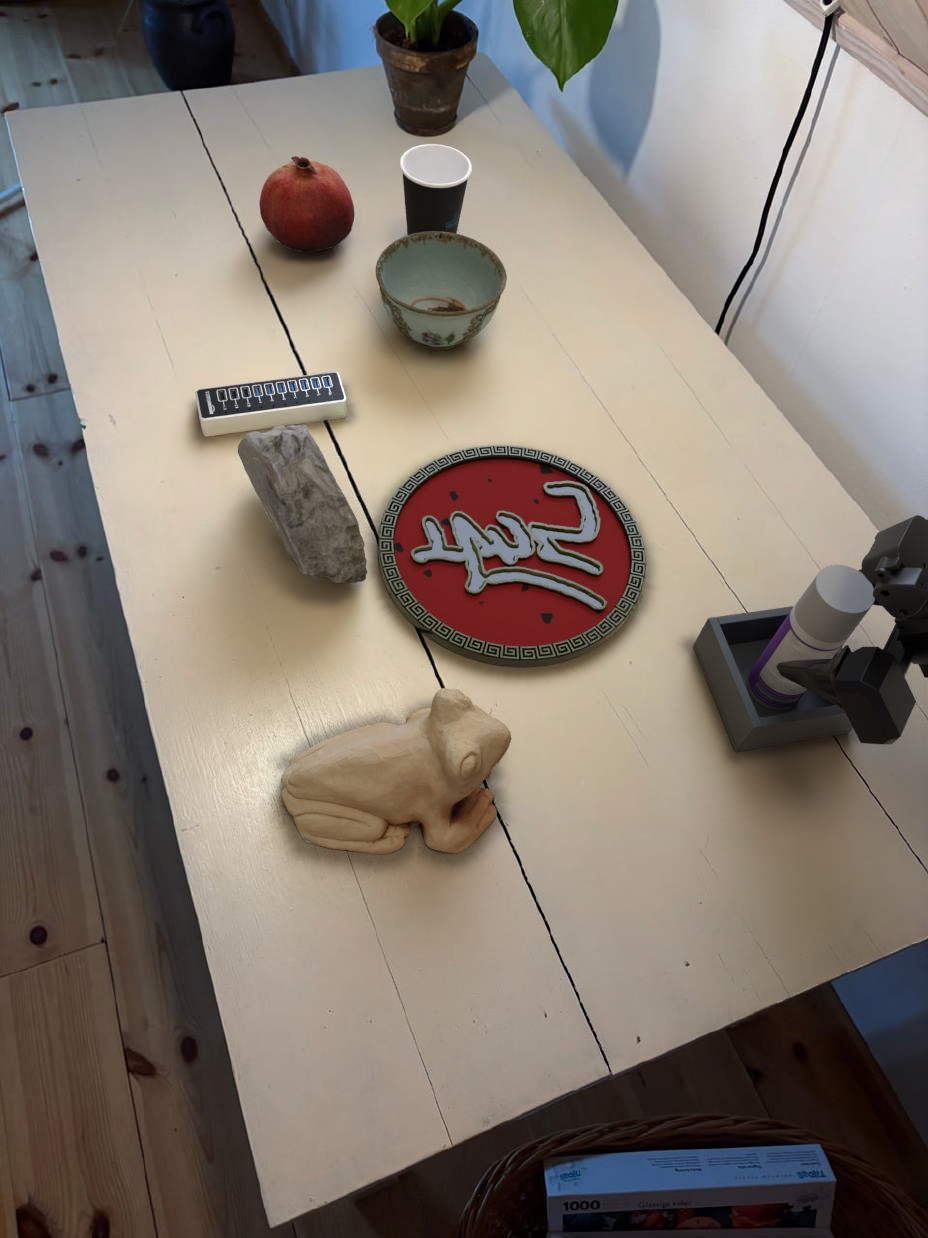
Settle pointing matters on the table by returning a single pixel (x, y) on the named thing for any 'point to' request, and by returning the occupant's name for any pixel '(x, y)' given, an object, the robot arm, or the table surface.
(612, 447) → the table surface
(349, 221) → the fruit
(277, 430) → the decorative rock
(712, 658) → the storage bin
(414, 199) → the dixie cup
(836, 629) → the container
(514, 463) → the decorative plate
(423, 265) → the bowl
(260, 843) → the table surface
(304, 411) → the multiport hub
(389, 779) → the figurine
